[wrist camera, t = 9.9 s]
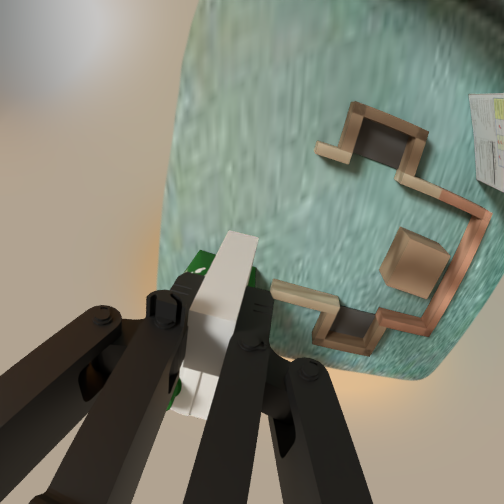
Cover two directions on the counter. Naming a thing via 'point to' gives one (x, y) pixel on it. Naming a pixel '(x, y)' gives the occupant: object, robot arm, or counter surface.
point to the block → (413, 263)
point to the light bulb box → (488, 137)
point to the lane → (448, 283)
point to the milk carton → (190, 381)
